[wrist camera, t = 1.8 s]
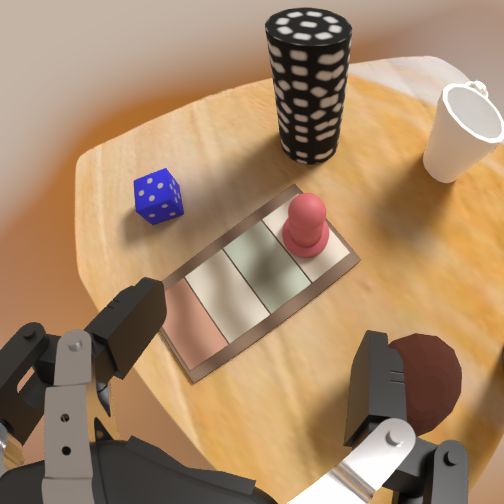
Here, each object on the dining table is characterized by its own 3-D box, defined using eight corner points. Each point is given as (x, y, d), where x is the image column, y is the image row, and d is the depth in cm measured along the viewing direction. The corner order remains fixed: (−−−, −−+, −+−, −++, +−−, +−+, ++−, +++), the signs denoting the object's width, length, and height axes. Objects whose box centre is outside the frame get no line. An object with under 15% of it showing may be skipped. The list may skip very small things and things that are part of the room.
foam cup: (433, 131, 38) (460, 75, 26) (474, 171, 36) (513, 123, 23) (402, 159, 38) (429, 99, 26) (446, 204, 35) (490, 156, 23)
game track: (294, 185, 39) (294, 182, 38) (360, 260, 35) (361, 259, 34) (143, 297, 38) (140, 296, 37) (195, 382, 34) (193, 383, 33)
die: (179, 184, 42) (166, 167, 37) (184, 214, 40) (170, 199, 36) (148, 195, 42) (133, 180, 37) (152, 225, 41) (135, 212, 36)
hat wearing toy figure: (458, 148, 37) (489, 101, 26) (439, 134, 38) (466, 84, 27) (470, 119, 38) (496, 75, 27) (453, 107, 39) (475, 61, 28)
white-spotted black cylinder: (273, 156, 41) (252, 40, 22) (290, 114, 43) (279, 4, 23) (330, 171, 39) (345, 53, 20) (342, 127, 41) (356, 15, 22)
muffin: (444, 341, 30) (487, 340, 21) (424, 425, 28) (459, 448, 18) (360, 328, 33) (384, 325, 23) (338, 417, 30) (352, 444, 21)
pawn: (308, 205, 37) (310, 168, 28) (337, 239, 35) (349, 209, 27) (273, 231, 37) (265, 200, 28) (301, 267, 35) (303, 244, 27)
